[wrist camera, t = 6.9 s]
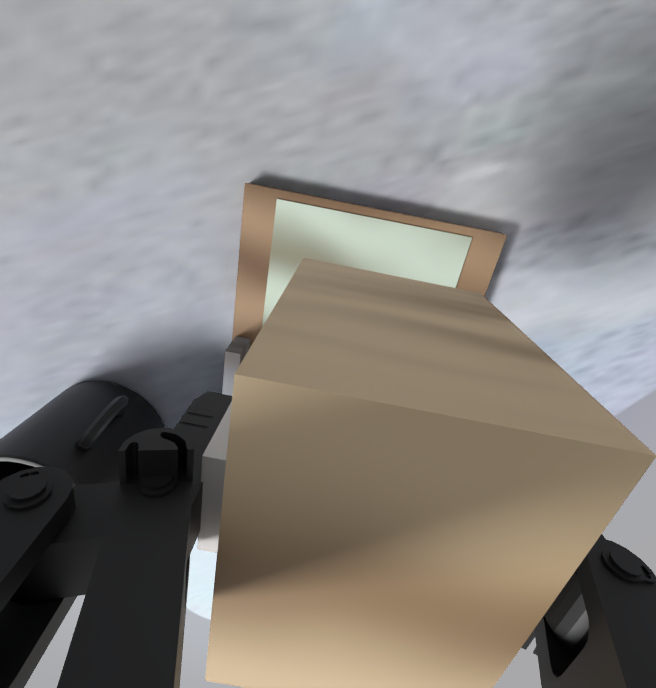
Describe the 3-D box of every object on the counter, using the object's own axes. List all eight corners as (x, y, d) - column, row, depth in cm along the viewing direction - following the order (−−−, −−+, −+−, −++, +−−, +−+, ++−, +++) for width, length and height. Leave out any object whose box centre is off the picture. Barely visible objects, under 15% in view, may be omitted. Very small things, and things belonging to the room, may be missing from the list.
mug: (203, 403, 30) (148, 489, 22) (137, 486, 35) (70, 584, 26) (96, 333, 28) (-8, 399, 20) (40, 431, 33) (-65, 519, 24)
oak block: (303, 257, 12) (235, 373, 5) (480, 293, 13) (656, 455, 5) (273, 446, 16) (205, 680, 8) (413, 473, 16) (465, 725, 9)
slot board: (249, 182, 23) (232, 184, 20) (501, 232, 24) (524, 242, 20) (224, 473, 33) (210, 505, 30) (401, 505, 34) (406, 540, 30)
